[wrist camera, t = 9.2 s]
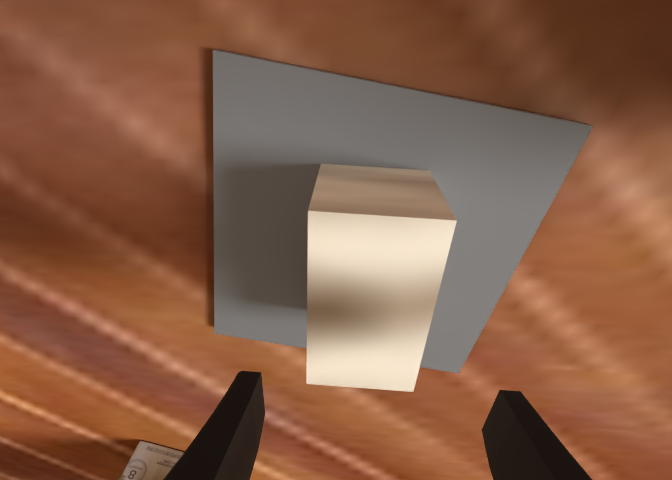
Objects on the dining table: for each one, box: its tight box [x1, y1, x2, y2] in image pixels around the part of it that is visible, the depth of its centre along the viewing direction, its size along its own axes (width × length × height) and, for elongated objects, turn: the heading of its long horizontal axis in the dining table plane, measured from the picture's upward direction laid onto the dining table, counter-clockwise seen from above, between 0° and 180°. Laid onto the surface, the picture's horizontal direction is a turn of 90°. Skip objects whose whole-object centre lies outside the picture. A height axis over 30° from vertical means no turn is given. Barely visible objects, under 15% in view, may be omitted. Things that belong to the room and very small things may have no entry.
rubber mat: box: [213, 49, 593, 373], centre depth 19 cm, size 16×16×1 cm
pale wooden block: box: [307, 164, 457, 392], centre depth 16 cm, size 9×5×5 cm, turn 177°
